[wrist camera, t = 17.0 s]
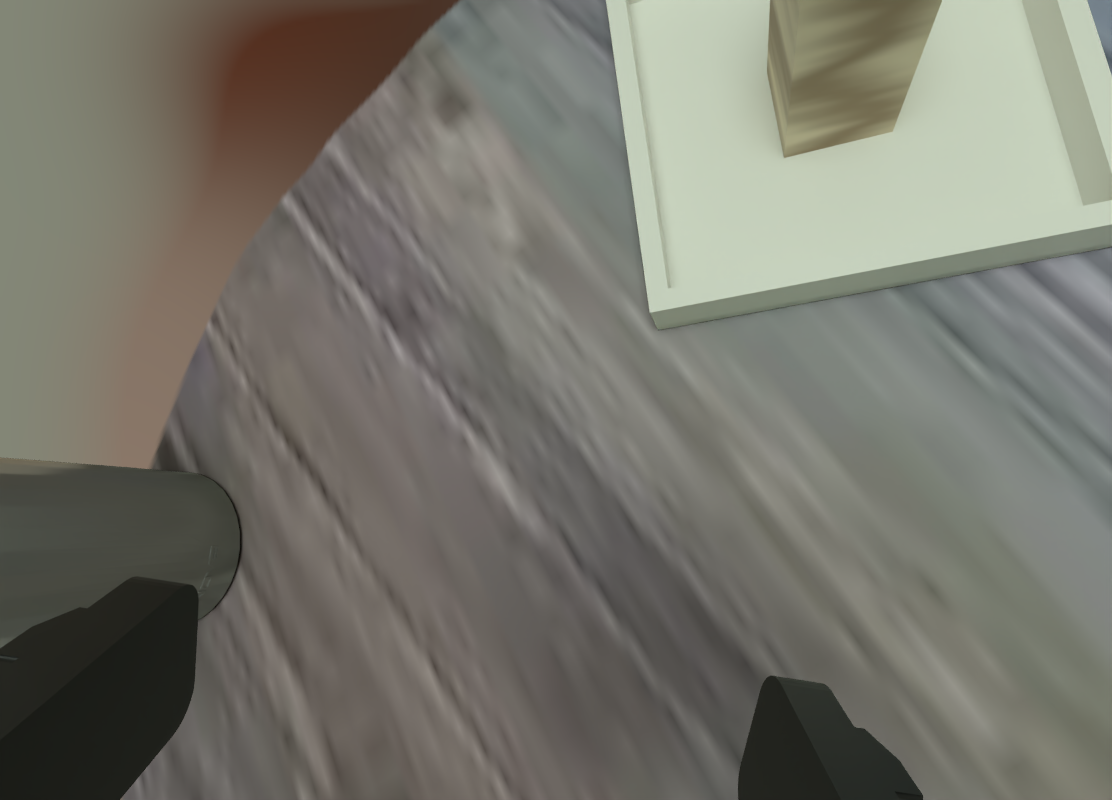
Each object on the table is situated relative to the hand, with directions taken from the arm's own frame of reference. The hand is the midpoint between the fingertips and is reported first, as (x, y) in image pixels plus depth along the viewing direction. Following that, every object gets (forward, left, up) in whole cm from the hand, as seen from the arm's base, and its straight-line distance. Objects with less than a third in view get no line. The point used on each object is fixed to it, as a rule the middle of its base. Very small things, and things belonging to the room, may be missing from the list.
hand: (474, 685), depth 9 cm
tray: (-1, +24, -23) cm, 34 cm away
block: (-1, +24, -23) cm, 33 cm away
